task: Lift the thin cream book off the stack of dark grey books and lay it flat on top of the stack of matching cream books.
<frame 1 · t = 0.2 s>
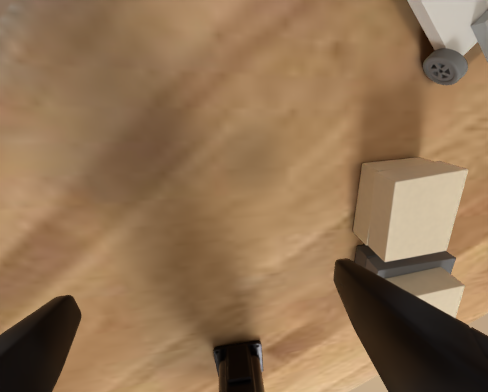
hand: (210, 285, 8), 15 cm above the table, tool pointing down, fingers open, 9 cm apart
grey books: (384, 274, 29), on the table
cream books: (384, 196, 24), on the table
cream book: (408, 299, 25), point 4 cm above the table, touching grey books
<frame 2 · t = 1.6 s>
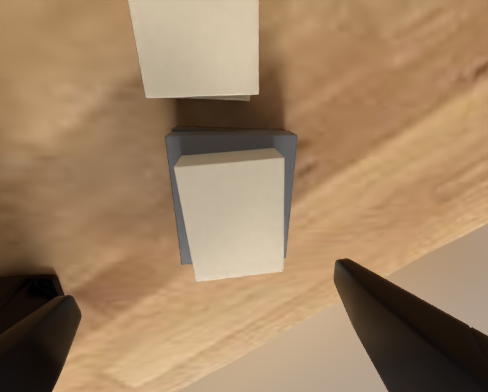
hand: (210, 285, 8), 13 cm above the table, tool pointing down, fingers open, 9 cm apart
grey books: (230, 187, 20), on the table
cream books: (203, 34, 15), on the table
cream book: (233, 207, 16), point 4 cm above the table, touching grey books
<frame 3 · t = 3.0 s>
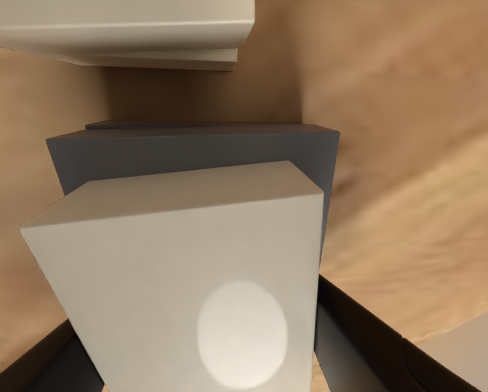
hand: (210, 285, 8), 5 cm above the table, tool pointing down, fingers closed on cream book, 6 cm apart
grey books: (213, 220, 12), on the table
cream book: (209, 273, 8), point 4 cm above the table, touching grey books, gripper
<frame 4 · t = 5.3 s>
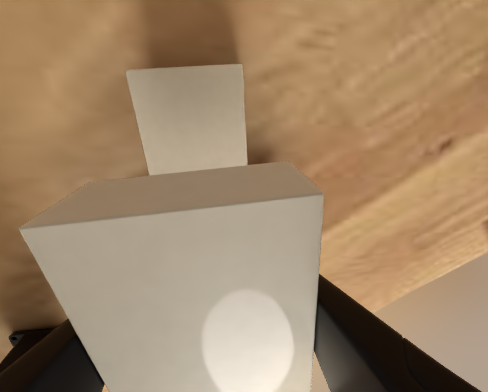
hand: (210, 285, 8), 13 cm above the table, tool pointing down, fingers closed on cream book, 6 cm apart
cream books: (202, 134, 18), on the table
cream book: (210, 273, 8), point 12 cm above the table, touching gripper
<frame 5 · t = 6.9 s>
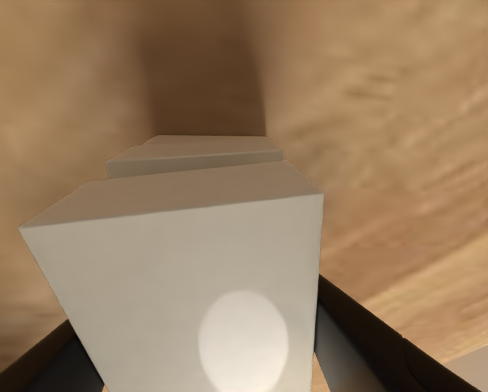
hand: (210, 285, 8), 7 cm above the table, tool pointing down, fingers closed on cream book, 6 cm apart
cream books: (214, 202, 14), on the table
cream book: (209, 273, 8), point 6 cm above the table, touching gripper
when the fingers open (6 cm above the table, at t = 7.7 s): cream book stays where it is, resting on cream books.
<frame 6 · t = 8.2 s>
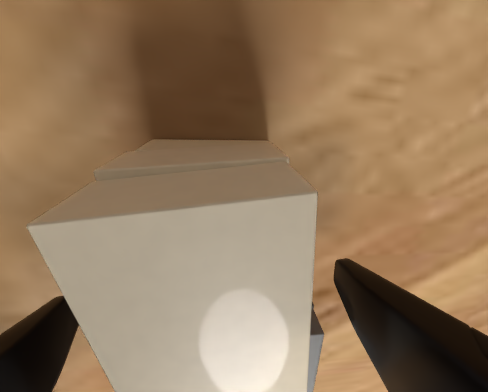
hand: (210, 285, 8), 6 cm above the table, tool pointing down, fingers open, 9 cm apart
grey books: (243, 334, 18), on the table
cream books: (213, 209, 13), on the table
cream book: (209, 271, 9), point 5 cm above the table, touching cream books
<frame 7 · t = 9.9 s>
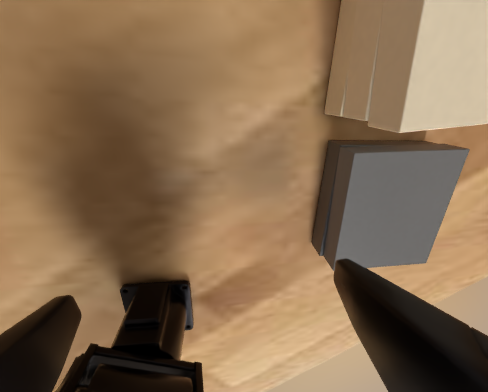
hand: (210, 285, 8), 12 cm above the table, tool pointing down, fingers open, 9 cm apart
grey books: (363, 195, 21), on the table
cream books: (372, 55, 16), on the table
cream book: (434, 39, 12), point 5 cm above the table, touching cream books
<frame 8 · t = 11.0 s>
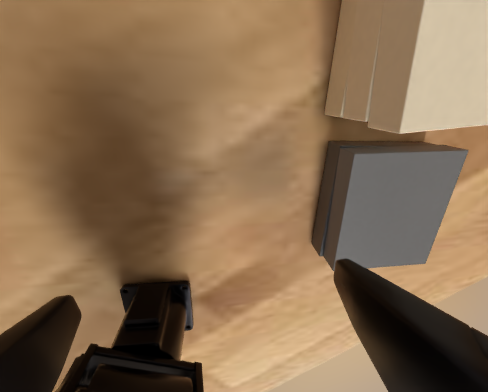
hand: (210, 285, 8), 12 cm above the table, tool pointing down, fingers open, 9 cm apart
grey books: (363, 196, 21), on the table
cream books: (372, 57, 16), on the table
cream book: (433, 41, 12), point 5 cm above the table, touching cream books
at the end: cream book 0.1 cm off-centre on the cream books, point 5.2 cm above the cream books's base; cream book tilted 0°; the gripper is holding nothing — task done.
